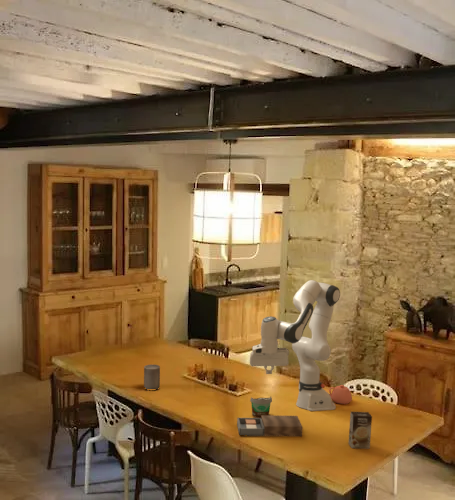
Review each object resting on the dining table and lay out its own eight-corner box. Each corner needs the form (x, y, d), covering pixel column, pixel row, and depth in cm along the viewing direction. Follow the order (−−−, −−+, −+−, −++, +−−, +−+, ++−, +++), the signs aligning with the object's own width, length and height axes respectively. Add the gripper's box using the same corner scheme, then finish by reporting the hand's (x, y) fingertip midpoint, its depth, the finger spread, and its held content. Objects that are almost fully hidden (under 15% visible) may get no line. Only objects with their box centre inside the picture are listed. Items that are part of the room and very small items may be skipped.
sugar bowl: (351, 406, 344) (352, 389, 343) (327, 404, 347) (328, 387, 346) (351, 399, 356) (352, 382, 355) (328, 397, 359) (328, 380, 358)
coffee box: (351, 448, 285) (353, 416, 284) (348, 443, 291) (349, 411, 290) (370, 448, 285) (372, 416, 284) (366, 443, 292) (368, 411, 290)
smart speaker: (161, 386, 369) (161, 362, 368) (157, 391, 359) (158, 367, 358) (145, 385, 370) (146, 362, 369) (142, 390, 360) (142, 366, 359)
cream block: (246, 424, 302) (245, 429, 302) (246, 428, 297) (246, 433, 297) (255, 424, 302) (255, 429, 303) (256, 428, 297) (256, 433, 298)
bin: (260, 424, 312) (261, 417, 311) (264, 436, 297) (264, 429, 296) (237, 424, 311) (237, 417, 310) (239, 435, 296) (239, 428, 296)
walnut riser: (296, 425, 313) (297, 415, 312) (302, 436, 298) (302, 426, 297) (260, 424, 312) (261, 415, 311) (264, 436, 297) (264, 426, 296)
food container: (253, 419, 319) (253, 401, 318) (249, 415, 325) (250, 397, 324) (274, 417, 322) (275, 399, 321) (270, 413, 328) (271, 395, 327)
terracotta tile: (245, 419, 309) (245, 424, 309) (246, 423, 304) (246, 427, 304) (254, 419, 309) (254, 424, 310) (256, 423, 304) (255, 427, 305)
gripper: (287, 346, 314) (287, 371, 316) (249, 346, 313) (249, 372, 315) (289, 349, 308) (289, 375, 310) (250, 350, 307) (250, 376, 308)
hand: (269, 373), depth 312 cm, fingers closed
